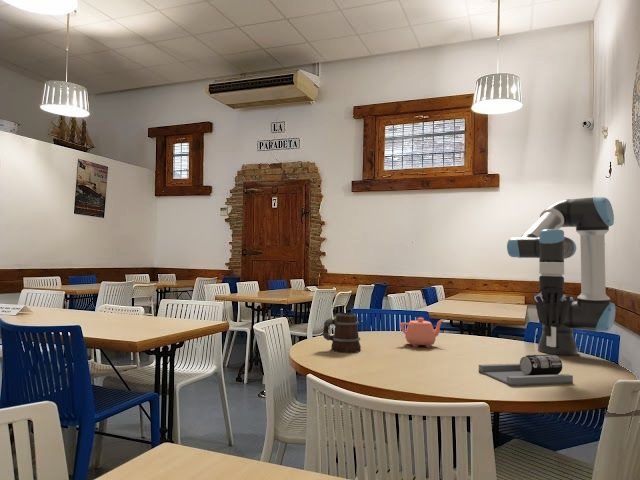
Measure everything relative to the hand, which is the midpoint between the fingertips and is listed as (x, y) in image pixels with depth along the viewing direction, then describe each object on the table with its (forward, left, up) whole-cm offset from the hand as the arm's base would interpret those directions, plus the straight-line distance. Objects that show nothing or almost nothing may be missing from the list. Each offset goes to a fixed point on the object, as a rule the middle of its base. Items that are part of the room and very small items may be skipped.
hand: (551, 346), depth 159 cm
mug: (+59, -51, -10) cm, 78 cm away
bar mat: (+10, 0, -10) cm, 14 cm away
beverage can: (-2, 0, -6) cm, 7 cm away
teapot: (+20, -58, -10) cm, 62 cm away
